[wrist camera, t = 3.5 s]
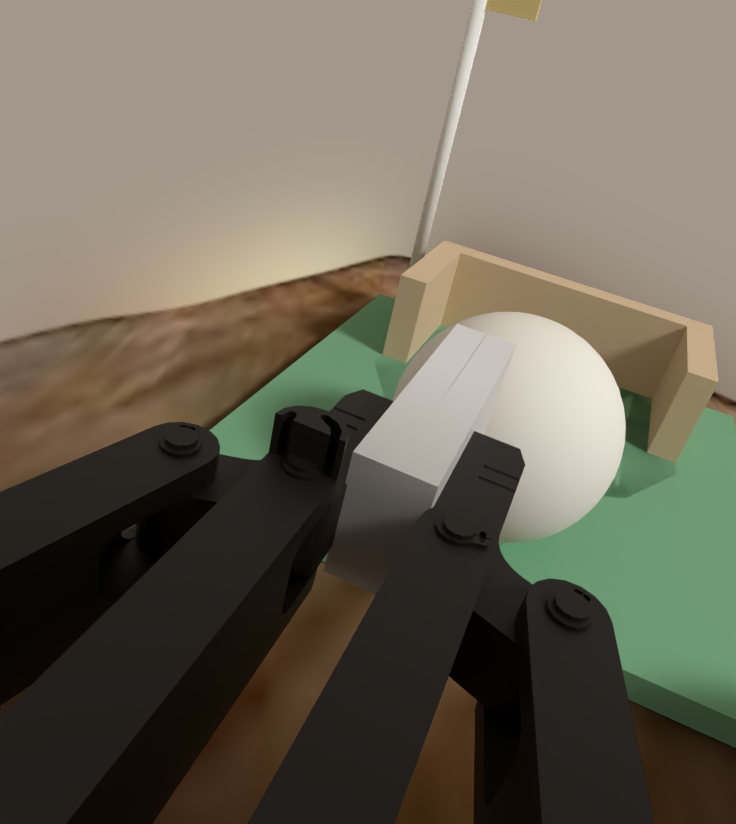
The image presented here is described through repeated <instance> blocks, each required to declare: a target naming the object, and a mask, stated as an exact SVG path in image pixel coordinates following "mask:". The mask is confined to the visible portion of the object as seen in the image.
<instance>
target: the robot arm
mask: <svg viewBox="0 0 736 824" xmlns="http://www.w3.org/2000/svg"><path fill="white" fill-rule="evenodd" d="M515 347H516V344H513V343H510V342H507V341H504V340H502V339H499V338H496V337H493V336H490V335H488V334H485V333H482V332H479V331H476V330H474V329H471V328H468V327H465V326H462V325H460V324H457V325H456V326H455V327H454V328H453V330H452V331H451V332H450V333H449V334H448V336H447V337H446V338H445V339H444V341H443V342H442V343H441V344H440V346H439V347H438V348H437V349H436V350H435V352H434V353H433V354H432V355H431V357H430V358H429V359H428V360H427V361H426V363H425V364H424V365H423V366H422V368H421V369H420V370H419V371H418V372H417V374H416V375H415V376H414V377H413V379H412V380H411V381H410V382H409V384H408V385H407V386H406V387H405V388H404V390H403V391H402V392H401V393H400V395H399V396H398V397H397V398H396V399H395V401H392V400H389V399H387V398H384V397H382V396H379V395H376V394H374V393H371V392H369V391H366V390H364V389H362V390H359V391H356V392H353V393H350V394H347V395H345V396H344V397H343V398H342V399H341V400H340V401H339V402H338V403H337V404H336V405H335V406H334V408H333V409H331V410H330V411H327V410H323V409H320V408H316V407H313V406H299V405H298V406H292V407H286V408H283V409H282V410H280V411H278V412H276V413H275V418H274V424H273V430H272V436H271V442H270V448H269V452H268V453H267V454H266V455H265V456H264V457H263V458H262V459H261V460H251V459H243V458H238V457H232V456H227V455H222V454H219V453H220V444H219V441H218V438H217V437H216V436H215V435H214V434H213V433H212V432H211V431H209V430H207V429H205V428H203V427H201V426H199V425H195V424H190V423H185V422H171V423H165V424H161V425H157V426H154V427H152V428H149V429H147V430H145V431H142V432H140V433H137V434H135V435H133V436H130V437H128V438H126V439H123V440H121V441H119V442H116V443H114V444H112V445H109V446H107V447H105V448H102V449H100V450H98V451H95V452H93V453H91V454H88V455H86V456H84V457H81V458H79V459H77V460H74V461H72V462H70V463H67V464H65V465H63V466H60V467H58V468H56V469H53V470H51V471H49V472H46V473H44V474H42V475H39V476H37V477H35V478H32V479H30V480H28V481H25V482H23V483H21V484H18V485H16V486H14V487H11V488H9V489H6V490H4V491H2V492H0V705H2V704H3V703H5V702H6V701H8V700H9V699H11V698H12V697H14V696H15V695H17V694H18V693H20V692H21V691H23V690H24V689H26V688H27V687H29V686H30V685H31V686H30V687H29V688H28V689H27V690H26V691H25V692H24V693H23V694H22V695H21V696H20V697H19V698H18V699H17V700H16V701H15V702H14V703H13V704H12V705H11V706H10V707H8V708H7V709H6V710H5V711H4V712H3V713H2V714H1V715H0V824H152V823H153V822H154V821H155V819H156V818H157V816H158V815H159V813H160V812H161V810H162V809H163V807H164V806H165V804H166V803H167V801H168V800H169V798H170V797H171V795H172V794H173V793H174V791H175V790H176V788H177V787H178V785H179V784H180V782H181V781H182V779H183V778H184V776H185V775H186V773H187V772H188V770H189V769H190V767H191V766H192V764H193V763H194V762H195V760H196V759H197V757H198V756H199V754H200V753H201V751H202V750H203V748H204V747H205V745H206V744H207V742H208V741H209V739H210V738H211V736H212V735H213V734H214V732H215V731H216V729H217V728H218V726H219V725H220V723H221V722H222V720H223V719H224V717H225V716H226V714H227V713H228V711H229V710H230V708H231V707H232V705H233V704H234V703H235V701H236V700H237V698H238V697H239V695H240V694H241V692H242V691H243V689H244V688H245V686H246V685H247V683H248V682H249V680H250V679H251V677H252V676H253V675H254V673H255V672H256V670H257V669H258V667H259V666H260V664H261V663H262V661H263V660H264V658H265V657H266V655H267V654H268V652H269V651H270V649H271V648H272V646H273V645H274V644H275V642H276V641H277V639H278V638H279V636H280V635H281V633H282V632H283V630H284V629H285V627H286V626H287V624H288V623H289V621H290V620H291V618H292V617H293V616H294V614H295V613H296V611H297V610H298V608H299V607H300V605H301V604H302V602H303V601H304V599H305V598H306V596H307V595H308V593H309V592H310V590H311V588H312V586H313V583H314V580H315V576H316V571H317V567H318V566H319V564H320V563H321V561H322V560H323V559H324V557H325V556H326V554H327V553H328V555H327V559H326V563H325V567H324V571H325V572H328V573H330V574H332V575H334V576H336V577H338V578H341V579H343V580H345V581H347V582H349V583H352V584H354V585H356V586H358V587H360V588H362V589H365V590H367V591H369V592H371V593H373V594H375V595H376V596H375V598H374V600H373V601H372V603H371V605H370V607H369V609H368V610H367V612H366V614H365V616H364V617H363V619H362V621H361V623H360V625H359V626H358V628H357V630H356V632H355V634H354V635H353V637H352V639H351V641H350V642H349V644H348V646H347V648H346V650H345V651H344V653H343V655H342V657H341V658H340V660H339V662H338V664H337V666H336V667H335V669H334V671H333V673H332V675H331V676H330V678H329V680H328V682H327V683H326V685H325V687H324V689H323V691H322V692H321V694H320V696H319V698H318V700H317V701H316V703H315V705H314V707H313V708H312V710H311V712H310V714H309V716H308V717H307V719H306V721H305V723H304V724H303V726H302V728H301V730H300V732H299V733H298V735H297V737H296V739H295V741H294V742H293V744H292V746H291V748H290V749H289V751H288V753H287V755H286V757H285V758H284V760H283V762H282V764H281V766H280V767H279V769H278V771H277V773H276V774H275V776H274V778H273V780H272V782H271V783H270V785H269V787H268V789H267V790H266V792H265V794H264V796H263V798H262V799H261V801H260V803H259V805H258V807H257V808H256V810H255V812H254V814H253V815H252V817H251V819H250V821H249V823H248V824H394V822H395V820H396V817H397V814H398V811H399V809H400V806H401V803H402V801H403V798H404V795H405V793H406V790H407V787H408V784H409V782H410V779H411V776H412V774H413V771H414V768H415V765H416V763H417V760H418V757H419V755H420V752H421V749H422V747H423V744H424V741H425V738H426V736H427V733H428V730H429V728H430V725H431V722H432V720H433V717H434V714H435V711H436V709H437V706H438V703H439V701H440V698H441V695H442V693H443V690H444V687H445V684H446V682H447V679H448V676H450V677H451V678H452V679H453V680H454V681H455V682H457V683H458V684H459V685H460V686H461V687H462V688H464V689H465V690H466V691H467V692H468V693H469V694H471V695H472V696H473V697H474V698H475V699H476V700H477V703H476V707H475V760H474V824H655V823H654V818H653V814H652V809H651V804H650V799H649V794H648V790H647V785H646V780H645V775H644V771H643V766H642V761H641V756H640V751H639V747H638V742H637V737H636V732H635V728H634V723H633V718H632V713H631V708H630V704H629V699H628V694H627V689H626V685H625V680H624V675H623V670H622V665H621V661H620V656H619V651H618V646H617V642H616V637H615V632H614V627H613V623H612V620H611V618H610V616H609V613H608V611H607V609H606V608H605V607H604V606H603V605H602V603H601V602H600V601H599V600H598V599H597V598H596V597H595V596H594V595H592V594H591V593H590V592H588V591H587V590H585V589H584V588H582V587H581V586H578V585H576V584H573V583H571V582H568V581H566V580H559V579H551V578H549V579H544V580H540V581H537V582H535V583H534V584H531V583H530V582H529V581H527V580H526V579H524V578H523V577H522V576H521V575H519V574H518V573H517V572H516V571H515V570H513V569H512V567H511V566H510V565H509V564H508V563H507V561H506V560H505V559H504V557H503V555H502V553H501V551H500V547H499V536H500V533H501V530H502V527H503V525H504V522H505V519H506V516H507V514H508V511H509V508H510V506H511V503H512V500H513V497H514V495H515V492H516V489H517V486H518V484H519V481H520V478H521V476H522V473H523V470H524V467H525V462H524V459H523V456H522V453H521V450H520V449H519V448H517V447H514V446H512V445H509V444H506V443H504V442H501V441H499V440H496V439H494V438H491V437H489V436H486V435H484V433H485V430H486V428H487V425H488V422H489V419H490V417H491V414H492V411H493V408H494V405H495V403H496V400H497V397H498V394H499V392H500V389H501V386H502V383H503V381H504V378H505V375H506V372H507V370H508V367H509V364H510V361H511V358H512V356H513V353H514V350H515ZM134 524H136V526H135V527H133V528H132V529H130V530H128V531H125V532H122V531H123V530H125V529H127V528H129V527H131V526H133V525H134Z"/></svg>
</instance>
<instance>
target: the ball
mask: <svg viewBox="0 0 736 824" xmlns="http://www.w3.org/2000/svg"><path fill="white" fill-rule="evenodd" d="M457 324H460V325H462V326H465V327H468V328H471V329H474V330H476V331H479V332H482V333H485V334H488V335H490V336H493V337H496V338H499V339H502V340H504V341H507V342H510V343H513V344H516V347H515V350H514V353H513V356H512V358H511V361H510V364H509V367H508V370H507V372H506V375H505V378H504V381H503V383H502V386H501V389H500V392H499V394H498V397H497V400H496V403H495V405H494V408H493V411H492V414H491V417H490V419H489V422H488V425H487V428H486V430H485V433H484V435H486V436H489V437H491V438H494V439H496V440H499V441H501V442H504V443H506V444H509V445H512V446H514V447H517V448H519V449H520V450H521V453H522V456H523V459H524V462H525V467H524V470H523V473H522V476H521V478H520V481H519V484H518V486H517V489H516V492H515V495H514V497H513V500H512V503H511V506H510V508H509V511H508V514H507V516H506V519H505V522H504V525H503V527H502V530H501V533H500V536H499V543H523V542H529V541H534V540H539V539H542V538H545V537H548V536H550V535H553V534H555V533H558V532H561V531H562V530H564V529H566V528H567V527H569V526H571V525H572V524H574V523H576V522H577V521H579V520H580V519H581V518H582V517H583V516H585V515H586V514H587V513H588V512H589V511H590V510H591V509H592V508H593V507H594V506H595V505H596V504H597V503H598V502H599V501H600V499H601V498H602V497H603V496H604V494H605V493H606V491H607V489H608V488H609V486H610V484H611V483H612V481H613V479H614V478H615V475H616V473H617V470H618V467H619V465H620V462H621V458H622V454H623V450H624V445H625V430H626V422H625V412H624V406H623V402H622V399H621V395H620V391H619V388H618V386H617V384H616V381H615V379H614V377H613V375H612V373H611V371H610V369H609V368H608V366H607V365H606V363H605V362H604V360H603V359H602V358H601V356H600V355H599V354H598V353H597V352H596V351H595V350H594V349H593V348H592V347H591V345H590V344H589V343H588V342H586V341H585V340H584V339H583V338H581V337H580V336H579V335H577V334H576V333H574V332H573V331H572V330H570V329H569V328H567V327H565V326H563V325H561V324H559V323H557V322H555V321H552V320H550V319H547V318H544V317H541V316H537V315H533V314H528V313H522V312H493V313H487V314H482V315H477V316H473V317H471V318H468V319H465V320H462V321H460V322H457V323H455V324H454V325H452V326H450V327H448V328H446V329H445V330H443V331H441V332H440V333H438V334H437V335H436V336H434V337H433V338H432V339H431V340H429V341H428V342H427V343H426V344H425V345H424V346H423V347H422V348H421V349H420V350H419V351H418V352H417V353H416V355H415V356H414V357H413V359H412V360H411V362H410V363H409V365H408V366H407V367H406V369H405V371H404V373H403V375H402V377H401V379H400V380H399V383H398V386H397V389H396V392H395V395H394V398H393V401H395V399H396V398H397V397H398V396H399V395H400V393H401V392H402V391H403V390H404V388H405V387H406V386H407V385H408V384H409V382H410V381H411V380H412V379H413V377H414V376H415V375H416V374H417V372H418V371H419V370H420V369H421V368H422V366H423V365H424V364H425V363H426V361H427V360H428V359H429V358H430V357H431V355H432V354H433V353H434V352H435V350H436V349H437V348H438V347H439V346H440V344H441V343H442V342H443V341H444V339H445V338H446V337H447V336H448V334H449V333H450V332H451V331H452V330H453V328H454V327H455V326H456V325H457Z"/></svg>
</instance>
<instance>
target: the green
mask: <svg viewBox="0 0 736 824" xmlns="http://www.w3.org/2000/svg"><path fill="white" fill-rule="evenodd" d="M541 2H542V0H473V5H472V8H471V13H470V17H469V21H468V25H467V30H466V33H465V37H464V42H463V46H462V50H461V54H460V58H459V63H458V66H457V71H456V75H455V79H454V83H453V87H452V91H451V96H450V100H449V104H448V108H447V112H446V116H445V121H444V124H443V129H442V133H441V137H440V141H439V145H438V150H437V154H436V158H435V162H434V166H433V170H432V174H431V179H430V183H429V187H428V191H427V195H426V199H425V203H424V207H423V212H422V216H421V220H420V224H419V228H418V232H417V236H416V241H415V245H414V249H413V253H412V257H411V261H410V266H409V269H408V270H407V271H406V272H404V273H403V274H402V275H401V278H400V282H399V286H398V290H397V295H396V299H393V298H390V297H387V296H384V295H381V294H380V295H378V296H377V297H376V298H375V299H373V300H372V301H371V302H370V303H368V304H367V305H366V306H365V307H363V308H362V309H361V310H360V311H358V312H357V313H356V314H355V315H353V316H352V317H351V318H350V319H348V320H347V321H346V322H345V323H343V324H342V325H341V326H340V327H338V328H337V329H336V330H335V331H333V332H332V333H331V334H330V335H328V336H327V337H326V338H324V339H323V340H322V341H321V342H319V343H318V344H317V345H316V346H314V347H313V348H312V349H311V350H309V351H308V352H307V353H306V354H304V355H303V356H302V357H301V358H299V359H298V360H297V361H296V362H294V363H293V364H292V365H291V366H289V367H288V368H287V369H286V370H284V371H283V372H282V373H281V374H279V375H278V376H277V377H276V378H274V379H273V380H272V381H271V382H269V383H268V384H267V385H266V386H264V387H263V388H262V389H261V390H259V391H258V392H257V393H256V394H254V395H253V396H252V397H251V398H249V399H248V400H247V401H246V402H244V403H243V404H242V405H241V406H239V407H238V408H237V409H236V410H234V411H233V412H232V413H231V414H229V415H228V416H227V417H226V418H224V419H223V420H222V421H220V422H219V423H218V424H217V425H215V426H214V427H213V428H212V429H210V430H209V431H211V432H212V433H213V434H214V435H215V436H216V437H217V438H218V441H219V444H220V453H219V454H222V455H227V456H232V457H238V458H243V459H251V460H261V459H262V458H263V457H264V456H265V455H266V454H267V453H268V452H269V448H270V442H271V436H272V430H273V424H274V418H275V413H276V412H278V411H280V410H282V409H283V408H286V407H292V406H298V405H299V406H313V407H316V408H320V409H323V410H327V411H330V410H331V409H333V408H334V406H335V405H336V404H337V403H338V402H339V401H340V400H341V399H342V398H343V397H344V396H345V395H347V394H350V393H353V392H356V391H359V390H362V389H364V390H366V391H369V392H371V393H374V394H376V395H379V396H382V397H384V398H387V399H389V400H392V401H393V398H394V395H395V392H396V389H397V386H398V383H399V380H400V379H401V377H402V375H403V373H404V371H405V369H406V367H407V366H408V365H409V363H410V362H411V360H412V359H413V357H414V356H415V355H416V353H417V352H418V351H419V350H420V349H421V348H422V347H423V346H424V345H425V344H426V343H427V342H428V341H429V340H431V339H432V338H433V337H434V336H436V335H437V334H438V333H440V332H441V331H443V330H445V329H446V328H448V327H450V326H452V325H454V324H455V323H457V322H460V321H462V320H465V319H468V318H471V317H473V316H477V315H482V314H487V313H493V312H522V313H528V314H533V315H537V316H541V317H544V318H547V319H550V320H552V321H555V322H557V323H559V324H561V325H563V326H565V327H567V328H569V329H570V330H572V331H573V332H574V333H576V334H577V335H579V336H580V337H581V338H583V339H584V340H585V341H586V342H588V343H589V344H590V345H591V347H592V348H593V349H594V350H595V351H596V352H597V353H598V354H599V355H600V356H601V358H602V359H603V360H604V362H605V363H606V365H607V366H608V368H609V369H610V371H611V373H612V375H613V377H614V379H615V381H616V384H617V386H618V388H619V391H620V395H621V399H622V402H623V406H624V412H625V422H626V430H625V445H624V450H623V454H622V458H621V462H620V465H619V467H618V470H617V473H616V475H615V478H614V479H613V481H612V483H611V484H610V486H609V488H608V489H607V491H606V493H605V494H604V496H603V497H602V498H601V499H600V501H599V502H598V503H597V504H596V505H595V506H594V507H593V508H592V509H591V510H590V511H589V512H588V513H587V514H586V515H585V516H583V517H582V518H581V519H580V520H579V521H577V522H576V523H574V524H572V525H571V526H569V527H567V528H566V529H564V530H562V531H561V532H558V533H555V534H553V535H550V536H548V537H545V538H542V539H539V540H534V541H529V542H523V543H499V547H500V551H501V553H502V555H503V557H504V559H505V560H506V561H507V563H508V564H509V565H510V566H511V567H512V569H513V570H515V571H516V572H517V573H518V574H519V575H521V576H522V577H523V578H524V579H526V580H527V581H529V582H530V583H531V584H534V583H535V582H537V581H540V580H544V579H549V578H551V579H559V580H566V581H568V582H571V583H573V584H576V585H578V586H581V587H582V588H584V589H585V590H587V591H588V592H590V593H591V594H592V595H594V596H595V597H596V598H597V599H598V600H599V601H600V602H601V603H602V605H603V606H604V607H605V608H606V609H607V611H608V613H609V616H610V618H611V620H612V623H613V627H614V632H615V637H616V642H617V646H618V651H619V656H620V661H621V665H622V670H623V675H624V680H625V685H626V689H627V694H628V699H629V700H630V701H632V702H635V703H637V704H639V705H641V706H643V707H646V708H648V709H650V710H652V711H655V712H657V713H659V714H661V715H663V716H666V717H668V718H670V719H672V720H674V721H677V722H679V723H681V724H683V725H685V726H688V727H690V728H692V729H694V730H697V731H699V732H701V733H703V734H705V735H708V736H710V737H712V738H714V739H716V740H719V741H721V742H723V743H725V744H728V745H730V746H732V747H734V748H736V430H735V423H734V417H732V416H730V415H727V414H724V413H721V412H718V411H715V410H712V409H709V408H707V407H706V405H707V403H708V401H709V399H710V397H711V396H712V394H713V392H714V390H715V388H716V386H717V384H718V372H717V363H716V353H715V345H714V335H713V326H710V325H707V324H704V323H701V322H698V321H695V320H692V319H689V318H685V317H682V316H679V315H676V314H673V313H670V312H667V311H664V310H661V309H657V308H654V307H651V306H648V305H645V304H642V303H639V302H636V301H632V300H629V299H626V298H623V297H620V296H617V295H614V294H611V293H607V292H604V291H601V290H598V289H595V288H592V287H589V286H586V285H583V284H579V283H576V282H573V281H570V280H567V279H564V278H561V277H557V276H554V275H551V274H548V273H545V272H542V271H539V270H536V269H533V268H529V267H526V266H523V265H520V264H517V263H513V262H511V261H508V260H505V259H501V258H498V257H495V256H492V255H489V254H486V253H483V252H480V251H477V250H473V249H470V248H467V247H464V246H461V245H458V244H455V243H452V242H448V241H444V242H442V243H441V244H440V245H438V246H437V247H436V248H435V249H433V250H432V251H431V252H430V253H428V254H427V255H426V256H425V251H426V248H427V244H428V240H429V235H430V232H431V227H432V224H433V219H434V216H435V212H436V208H437V204H438V200H439V196H440V192H441V188H442V184H443V180H444V176H445V172H446V168H447V164H448V160H449V156H450V152H451V148H452V144H453V140H454V136H455V132H456V128H457V124H458V120H459V116H460V112H461V108H462V104H463V100H464V96H465V92H466V88H467V84H468V80H469V76H470V72H471V68H472V64H473V60H474V56H475V53H476V49H477V45H478V41H479V36H480V33H481V29H482V25H483V21H484V17H485V12H486V9H487V10H491V11H495V12H499V13H504V14H508V15H512V16H516V17H520V18H525V19H529V20H533V21H536V19H537V16H538V12H539V9H540V5H541ZM424 256H425V257H424ZM327 555H328V553H327V554H326V556H325V557H324V559H323V560H322V561H323V562H325V563H326V559H327Z"/></svg>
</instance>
